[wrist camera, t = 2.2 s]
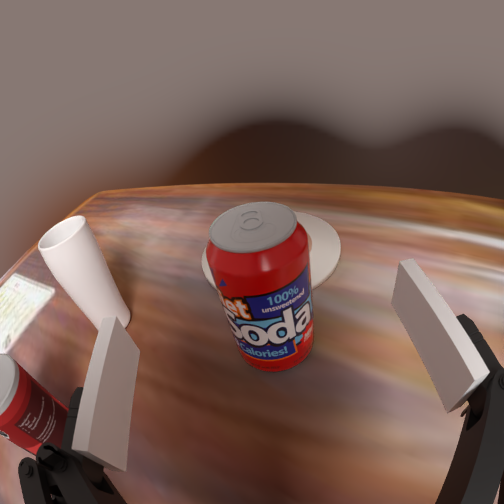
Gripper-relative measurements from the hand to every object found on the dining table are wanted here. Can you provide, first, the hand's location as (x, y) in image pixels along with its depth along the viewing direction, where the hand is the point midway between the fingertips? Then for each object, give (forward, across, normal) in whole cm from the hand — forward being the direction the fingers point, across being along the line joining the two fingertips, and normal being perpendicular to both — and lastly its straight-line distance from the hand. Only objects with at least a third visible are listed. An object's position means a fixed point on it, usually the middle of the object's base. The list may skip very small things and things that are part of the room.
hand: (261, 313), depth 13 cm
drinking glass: (+17, -20, -16) cm, 31 cm away
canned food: (0, -25, -17) cm, 30 cm away
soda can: (+10, +1, -16) cm, 19 cm away
